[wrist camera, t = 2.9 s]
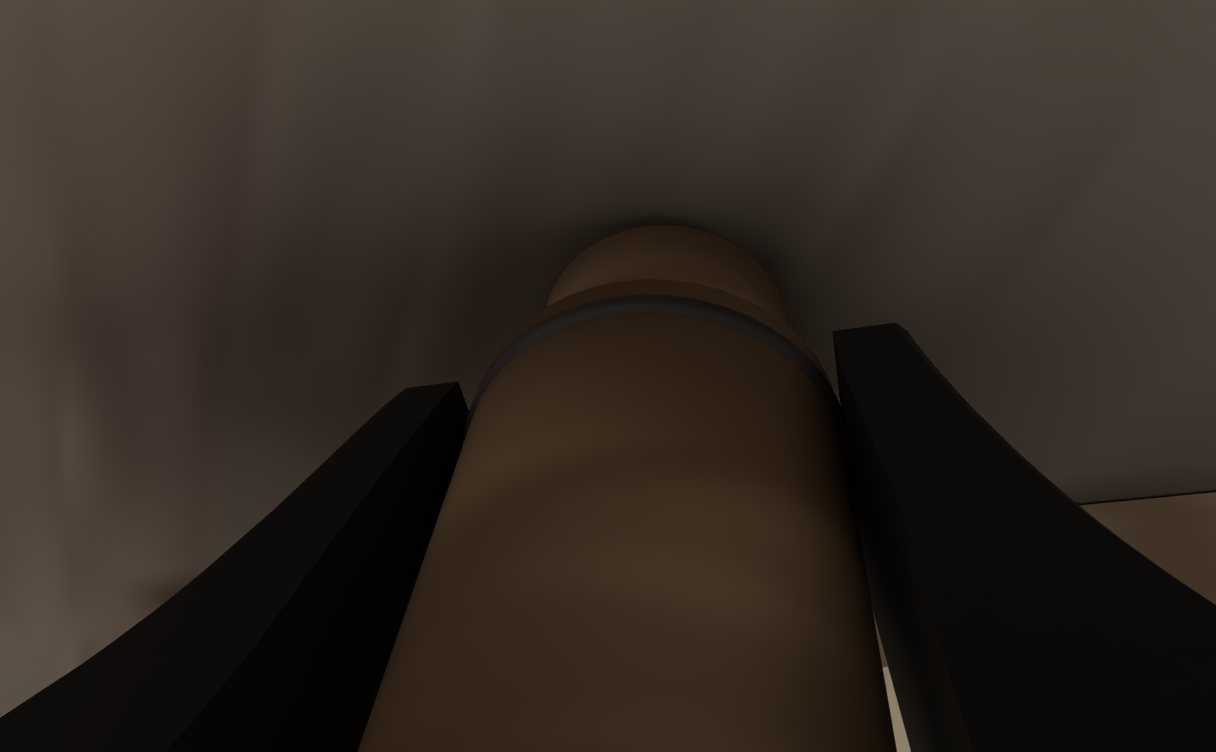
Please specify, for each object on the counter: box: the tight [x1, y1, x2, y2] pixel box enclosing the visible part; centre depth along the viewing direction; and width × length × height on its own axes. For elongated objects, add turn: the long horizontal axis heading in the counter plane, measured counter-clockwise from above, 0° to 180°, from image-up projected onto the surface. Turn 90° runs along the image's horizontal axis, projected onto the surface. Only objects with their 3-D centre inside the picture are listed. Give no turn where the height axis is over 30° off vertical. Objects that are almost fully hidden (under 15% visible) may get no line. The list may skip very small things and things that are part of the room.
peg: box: [358, 225, 897, 752], centre depth 9 cm, size 4×4×7 cm
